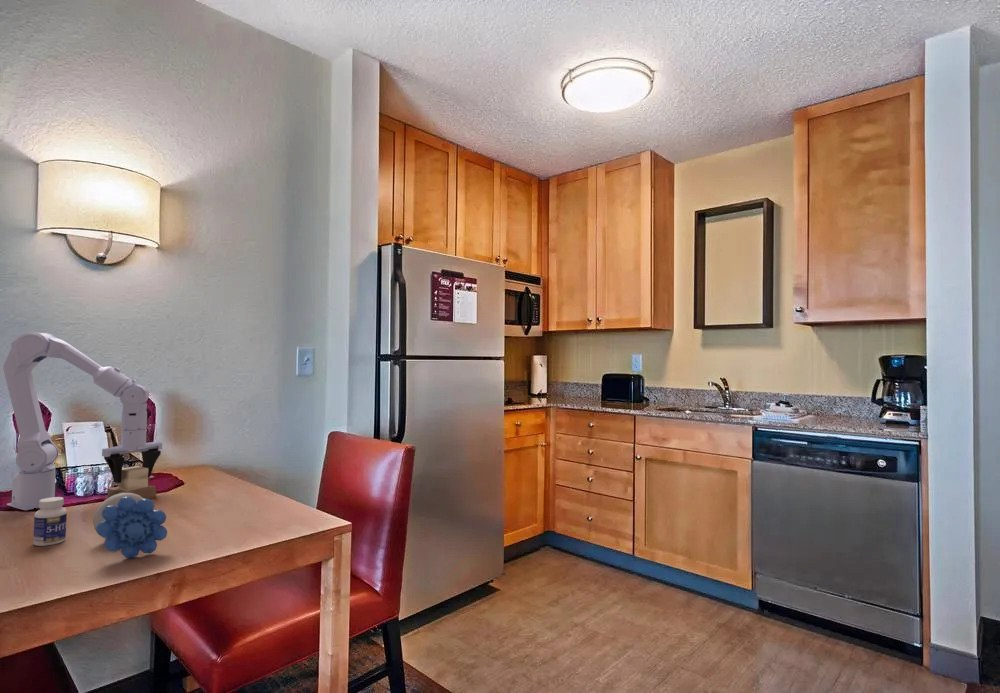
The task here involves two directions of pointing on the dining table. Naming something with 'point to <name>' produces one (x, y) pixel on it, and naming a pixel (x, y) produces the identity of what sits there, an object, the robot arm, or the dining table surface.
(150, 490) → the base
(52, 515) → the pill bottle
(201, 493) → the dining table surface
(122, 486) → the cube
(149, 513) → the blue flower rosette
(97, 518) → the donut
